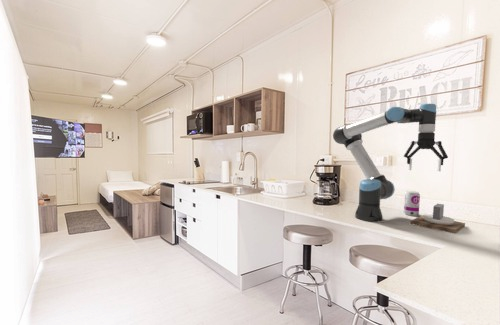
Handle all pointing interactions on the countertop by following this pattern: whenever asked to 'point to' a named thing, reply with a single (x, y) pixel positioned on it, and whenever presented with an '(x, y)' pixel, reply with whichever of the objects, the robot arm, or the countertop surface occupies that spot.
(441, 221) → the dial
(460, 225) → the dial base
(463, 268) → the countertop surface
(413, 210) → the supplement can
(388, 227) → the countertop surface
